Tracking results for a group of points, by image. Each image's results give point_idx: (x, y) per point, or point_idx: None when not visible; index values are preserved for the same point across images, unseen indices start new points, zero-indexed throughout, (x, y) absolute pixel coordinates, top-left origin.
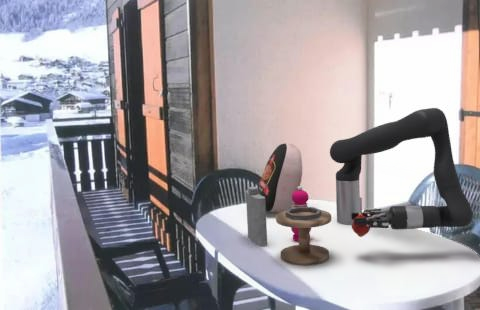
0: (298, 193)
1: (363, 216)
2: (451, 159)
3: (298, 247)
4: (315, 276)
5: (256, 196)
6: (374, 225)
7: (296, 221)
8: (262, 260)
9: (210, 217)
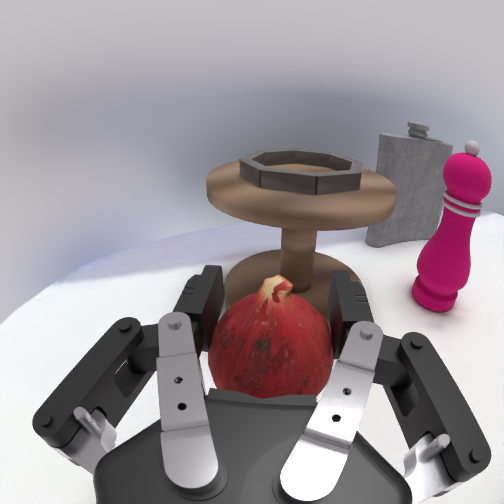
0: (452, 155)
1: (256, 315)
2: None
3: None
4: (144, 294)
5: (398, 135)
6: (131, 380)
7: (236, 166)
8: (277, 238)
9: (480, 211)
